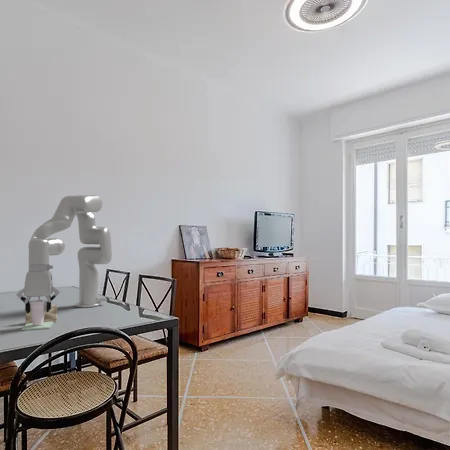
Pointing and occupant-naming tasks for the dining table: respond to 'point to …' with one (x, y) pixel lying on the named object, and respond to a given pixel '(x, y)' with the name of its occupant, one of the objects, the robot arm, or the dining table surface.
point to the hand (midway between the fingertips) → (38, 311)
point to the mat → (31, 327)
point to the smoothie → (38, 311)
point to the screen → (48, 316)
